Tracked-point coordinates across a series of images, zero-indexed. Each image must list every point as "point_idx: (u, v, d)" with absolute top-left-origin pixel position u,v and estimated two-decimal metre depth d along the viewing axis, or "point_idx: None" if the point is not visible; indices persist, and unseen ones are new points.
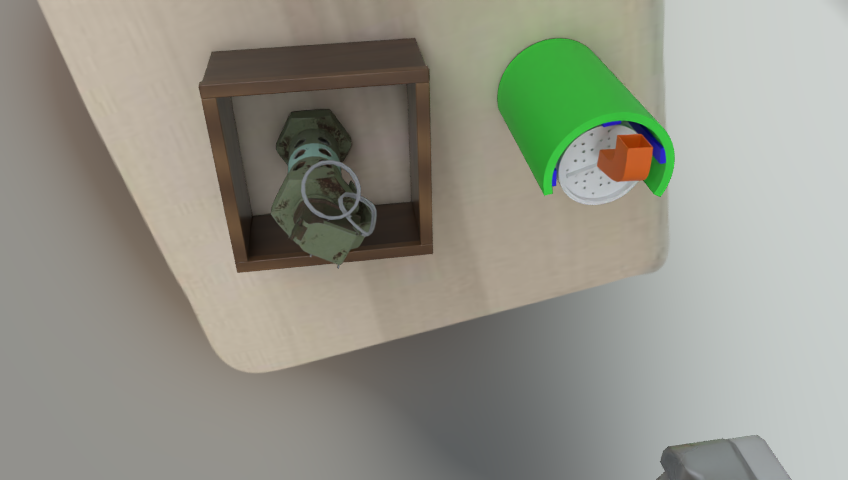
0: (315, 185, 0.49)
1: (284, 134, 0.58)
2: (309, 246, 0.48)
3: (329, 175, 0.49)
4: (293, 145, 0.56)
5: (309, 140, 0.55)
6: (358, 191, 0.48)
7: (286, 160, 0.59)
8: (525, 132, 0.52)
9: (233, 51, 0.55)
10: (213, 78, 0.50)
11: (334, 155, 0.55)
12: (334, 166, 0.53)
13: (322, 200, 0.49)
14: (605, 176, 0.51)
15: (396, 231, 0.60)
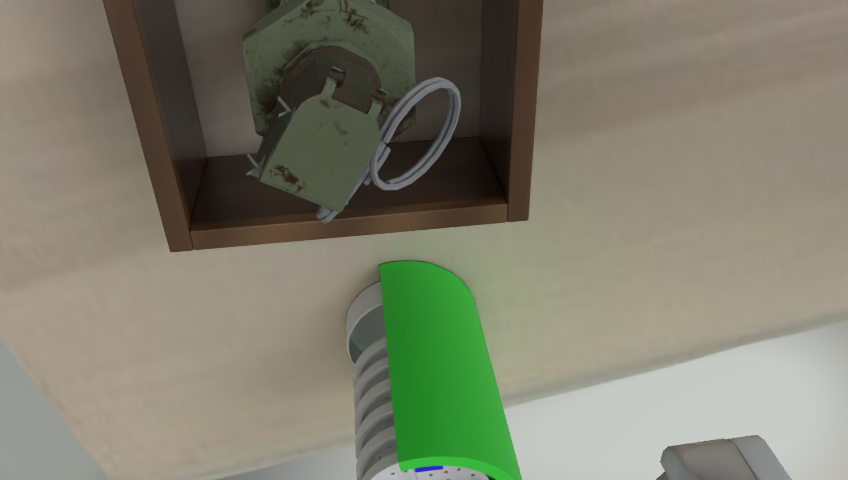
0: (400, 88, 0.23)
1: None
2: (314, 115, 0.20)
3: None
4: None
5: None
6: (403, 182, 0.24)
7: None
8: (433, 366, 0.35)
9: None
10: None
11: None
12: None
13: None
14: None
15: (186, 168, 0.32)
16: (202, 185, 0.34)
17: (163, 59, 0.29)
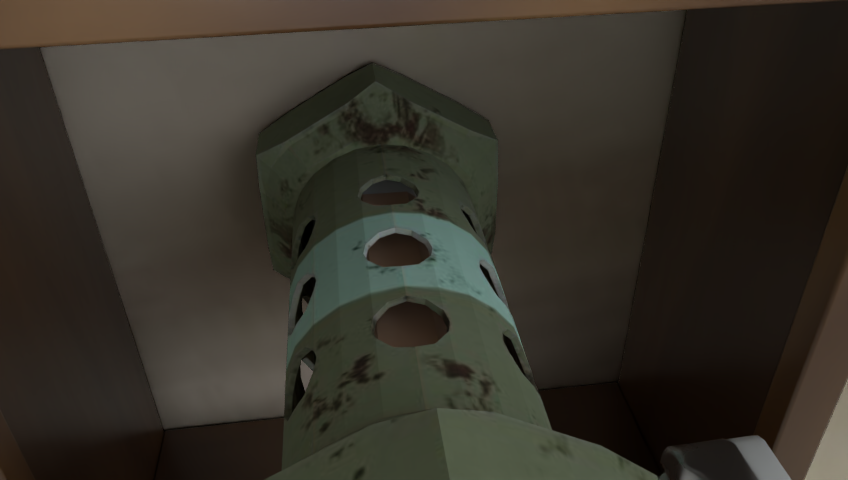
0: None
1: (442, 119, 0.15)
2: None
3: None
4: (454, 196, 0.14)
5: None
6: None
7: (337, 125, 0.15)
8: None
9: None
10: None
11: None
12: None
13: None
14: None
15: None
16: None
17: (53, 366, 0.14)
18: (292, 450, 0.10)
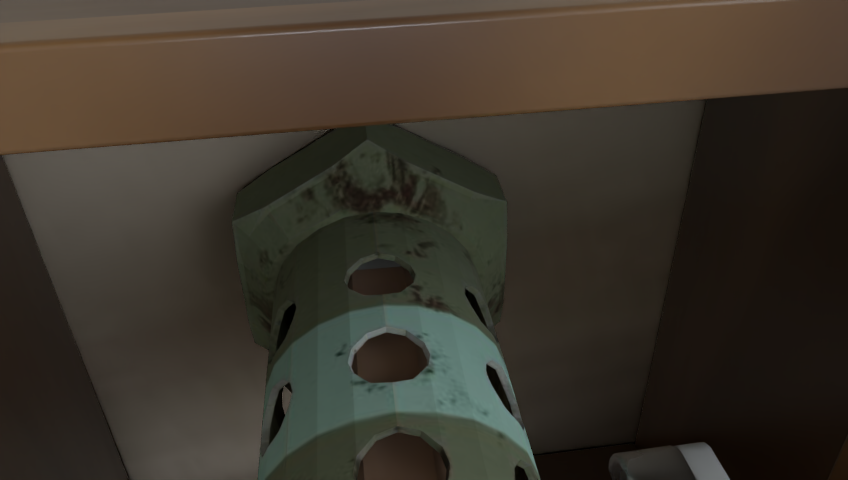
0: None
1: (443, 180, 0.13)
2: None
3: None
4: (457, 276, 0.12)
5: None
6: None
7: (324, 189, 0.13)
8: None
9: None
10: None
11: None
12: None
13: None
14: None
15: None
16: None
17: (0, 474, 0.12)
18: None
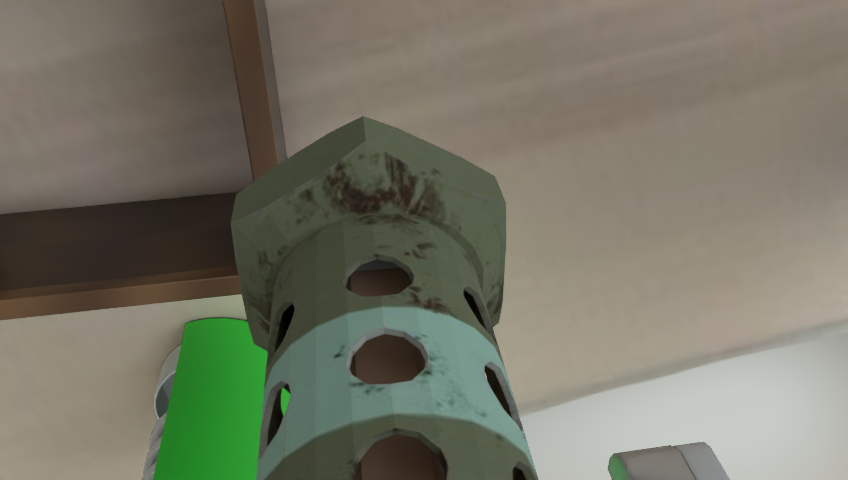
0: None
1: (442, 181, 0.13)
2: None
3: None
4: (456, 277, 0.12)
5: None
6: None
7: (322, 191, 0.13)
8: (207, 443, 0.32)
9: None
10: None
11: None
12: None
13: None
14: None
15: None
16: None
17: None
18: None
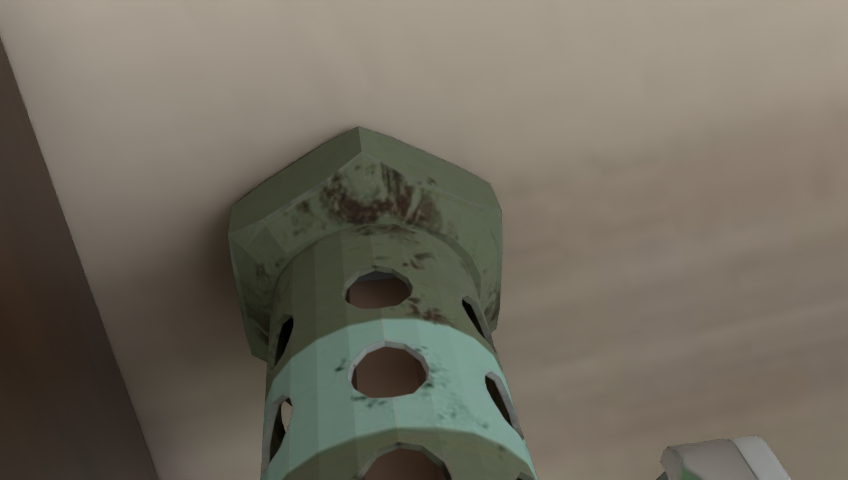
0: None
1: (438, 191, 0.14)
2: None
3: None
4: (454, 287, 0.12)
5: None
6: None
7: (319, 202, 0.13)
8: None
9: (12, 90, 0.13)
10: None
11: None
12: None
13: None
14: None
15: None
16: None
17: None
18: None
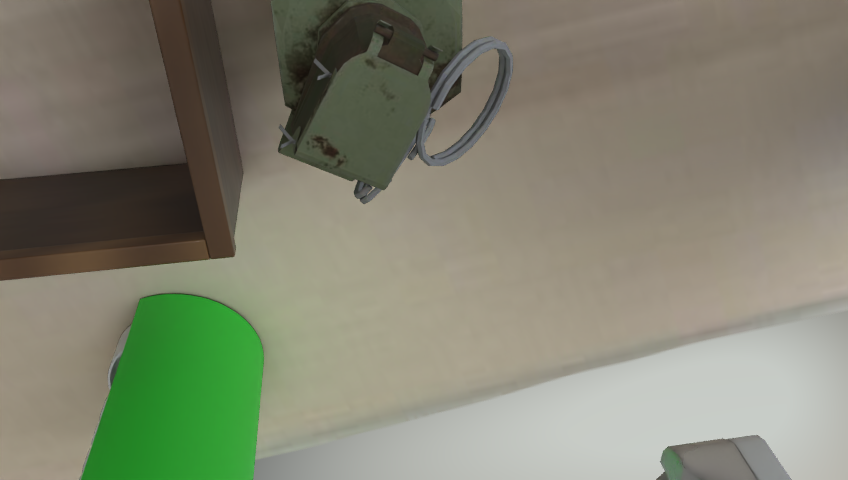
0: (445, 53, 0.21)
1: None
2: (358, 77, 0.18)
3: None
4: None
5: None
6: (448, 157, 0.22)
7: None
8: (149, 416, 0.31)
9: None
10: None
11: None
12: None
13: None
14: None
15: None
16: None
17: None
18: None
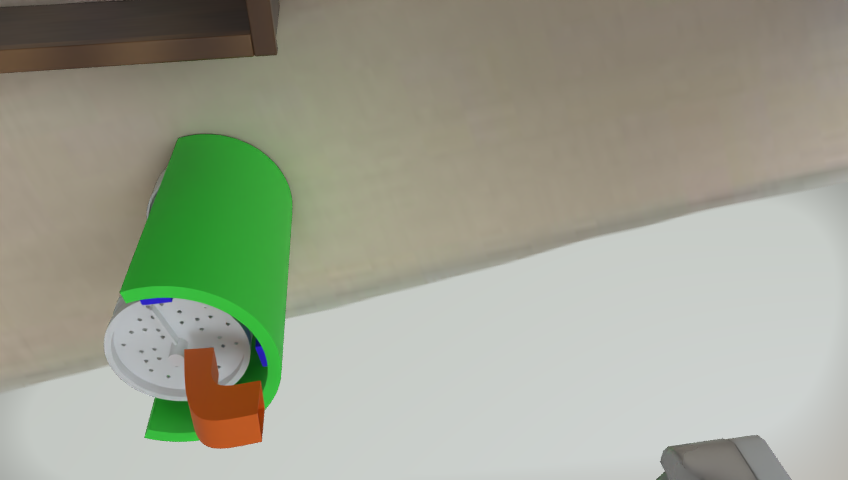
0: None
1: None
2: None
3: None
4: None
5: None
6: None
7: None
8: (193, 215, 0.33)
9: None
10: None
11: None
12: None
13: None
14: (157, 354, 0.33)
15: None
16: None
17: None
18: None
